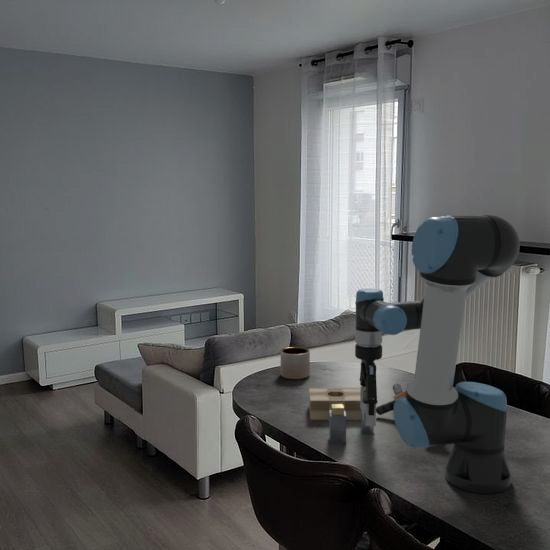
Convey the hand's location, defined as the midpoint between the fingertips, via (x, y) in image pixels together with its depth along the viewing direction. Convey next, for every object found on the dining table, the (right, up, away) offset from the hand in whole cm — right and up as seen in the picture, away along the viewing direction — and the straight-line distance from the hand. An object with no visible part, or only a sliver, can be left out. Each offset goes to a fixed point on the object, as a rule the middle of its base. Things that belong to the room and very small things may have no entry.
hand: (367, 416), depth 184 cm
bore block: (-8, -2, +16) cm, 18 cm away
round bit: (0, -5, +1) cm, 5 cm away
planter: (-19, +3, +54) cm, 57 cm away
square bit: (-9, -6, -5) cm, 12 cm away
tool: (+13, 0, +9) cm, 15 cm away
